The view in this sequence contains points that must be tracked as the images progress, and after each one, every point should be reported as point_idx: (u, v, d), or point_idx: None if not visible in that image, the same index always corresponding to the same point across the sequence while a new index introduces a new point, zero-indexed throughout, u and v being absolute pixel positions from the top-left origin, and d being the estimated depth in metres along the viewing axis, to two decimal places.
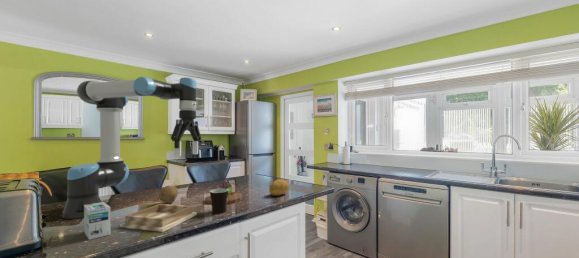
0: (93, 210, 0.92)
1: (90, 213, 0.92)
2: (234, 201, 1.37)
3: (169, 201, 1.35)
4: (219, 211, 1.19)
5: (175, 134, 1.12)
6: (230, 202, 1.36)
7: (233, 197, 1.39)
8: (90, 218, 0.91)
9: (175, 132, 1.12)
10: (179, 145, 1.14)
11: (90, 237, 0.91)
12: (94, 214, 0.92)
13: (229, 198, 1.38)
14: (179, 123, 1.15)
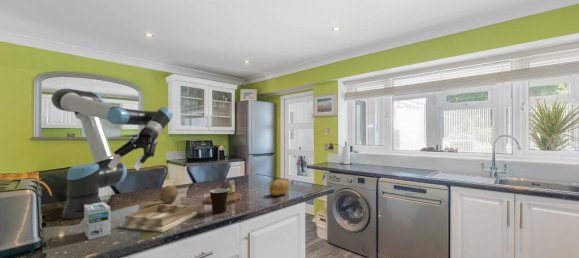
0: (93, 210, 0.92)
1: (90, 213, 0.92)
2: (234, 201, 1.37)
3: (169, 201, 1.35)
4: (219, 211, 1.19)
5: (153, 151, 1.12)
6: (230, 202, 1.36)
7: (233, 197, 1.39)
8: (90, 218, 0.91)
9: (153, 150, 1.12)
10: None
11: (90, 237, 0.91)
12: (94, 214, 0.92)
13: (229, 198, 1.38)
14: (155, 143, 1.16)
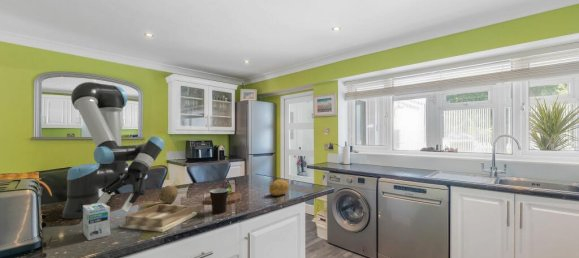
0: (92, 210, 0.92)
1: (89, 213, 0.91)
2: (234, 201, 1.37)
3: (169, 201, 1.35)
4: (219, 211, 1.19)
5: (143, 189, 1.04)
6: (230, 202, 1.36)
7: (233, 197, 1.39)
8: (89, 218, 0.91)
9: (143, 188, 1.05)
10: None
11: (89, 238, 0.91)
12: (93, 214, 0.92)
13: (229, 198, 1.38)
14: (146, 179, 1.08)
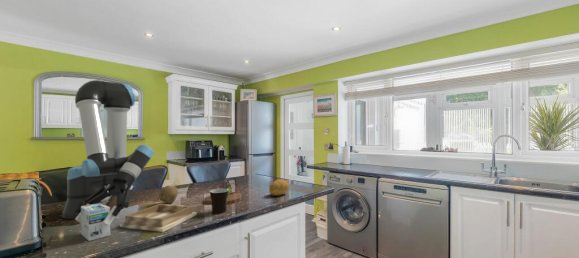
0: (93, 211, 0.91)
1: (90, 214, 0.90)
2: (234, 201, 1.37)
3: (169, 201, 1.35)
4: (219, 211, 1.19)
5: (128, 201, 0.99)
6: (230, 202, 1.35)
7: (233, 197, 1.39)
8: (90, 219, 0.90)
9: (128, 199, 1.00)
10: None
11: (90, 238, 0.90)
12: (94, 215, 0.91)
13: (229, 198, 1.37)
14: (131, 190, 1.04)
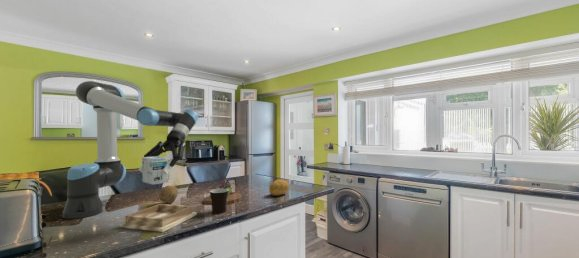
0: (155, 159, 1.04)
1: (153, 161, 1.03)
2: (233, 201, 1.37)
3: (169, 201, 1.35)
4: (219, 211, 1.19)
5: (182, 155, 1.12)
6: (229, 202, 1.35)
7: (232, 197, 1.39)
8: (153, 166, 1.03)
9: (181, 153, 1.12)
10: None
11: (153, 182, 1.03)
12: (156, 162, 1.04)
13: (228, 198, 1.37)
14: (183, 146, 1.16)
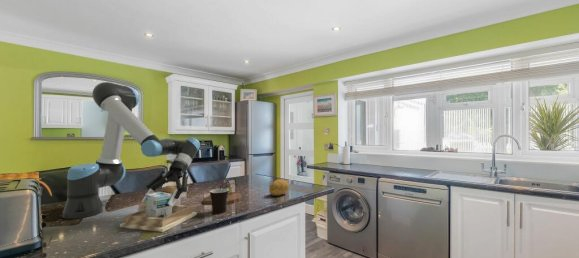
0: (159, 197, 1.05)
1: (157, 199, 1.04)
2: (233, 201, 1.37)
3: None
4: (219, 211, 1.19)
5: (186, 186, 1.13)
6: (229, 202, 1.35)
7: (232, 197, 1.39)
8: (157, 204, 1.04)
9: (186, 185, 1.13)
10: None
11: None
12: (160, 200, 1.05)
13: (228, 198, 1.37)
14: (187, 177, 1.17)
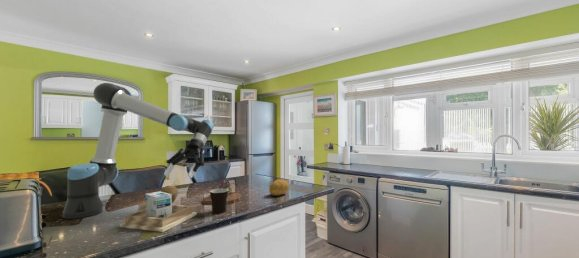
0: (159, 197, 1.05)
1: (157, 199, 1.04)
2: (233, 201, 1.36)
3: None
4: (219, 211, 1.19)
5: (203, 161, 1.25)
6: (229, 202, 1.35)
7: (232, 197, 1.39)
8: (157, 204, 1.04)
9: (203, 160, 1.26)
10: None
11: None
12: (160, 200, 1.05)
13: (228, 198, 1.37)
14: (203, 153, 1.30)
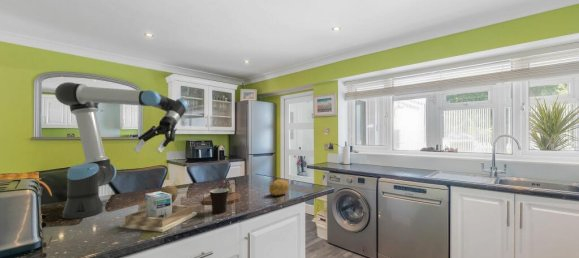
0: (159, 197, 1.05)
1: (157, 199, 1.04)
2: (232, 201, 1.36)
3: None
4: (219, 211, 1.19)
5: (173, 137, 1.26)
6: (228, 202, 1.35)
7: (231, 197, 1.39)
8: (157, 204, 1.04)
9: (173, 135, 1.26)
10: None
11: None
12: (160, 200, 1.05)
13: None
14: (175, 130, 1.30)
